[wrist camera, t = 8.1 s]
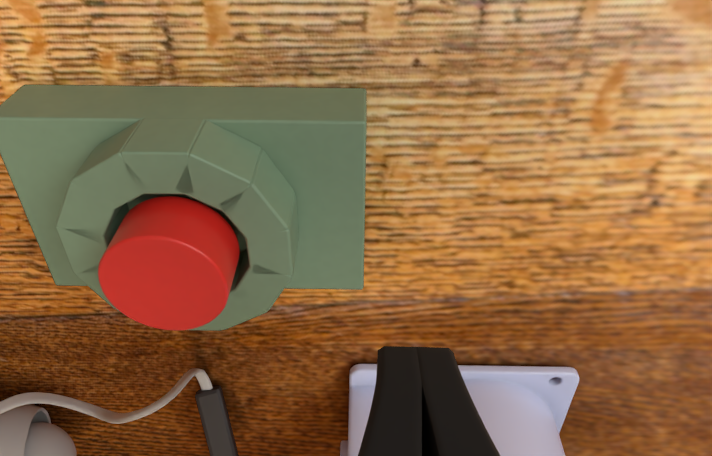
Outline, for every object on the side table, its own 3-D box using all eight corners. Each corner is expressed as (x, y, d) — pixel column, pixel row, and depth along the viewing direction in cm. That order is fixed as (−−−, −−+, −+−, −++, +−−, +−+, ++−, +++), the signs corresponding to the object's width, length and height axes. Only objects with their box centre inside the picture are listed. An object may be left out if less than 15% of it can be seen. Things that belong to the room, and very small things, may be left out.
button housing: (82, 244, 20) (29, 328, 17) (22, 81, 17) (-58, 149, 14) (363, 248, 20) (363, 333, 17) (366, 85, 17) (366, 155, 13)
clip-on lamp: (234, 247, 24) (-298, 264, 20) (244, 355, 19) (-476, 411, 15) (235, 431, 30) (-171, 476, 26) (242, 551, 25) (-265, 632, 21)
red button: (136, 285, 17) (115, 330, 15) (107, 193, 15) (80, 235, 13) (246, 287, 17) (235, 332, 15) (232, 195, 15) (218, 237, 13)
